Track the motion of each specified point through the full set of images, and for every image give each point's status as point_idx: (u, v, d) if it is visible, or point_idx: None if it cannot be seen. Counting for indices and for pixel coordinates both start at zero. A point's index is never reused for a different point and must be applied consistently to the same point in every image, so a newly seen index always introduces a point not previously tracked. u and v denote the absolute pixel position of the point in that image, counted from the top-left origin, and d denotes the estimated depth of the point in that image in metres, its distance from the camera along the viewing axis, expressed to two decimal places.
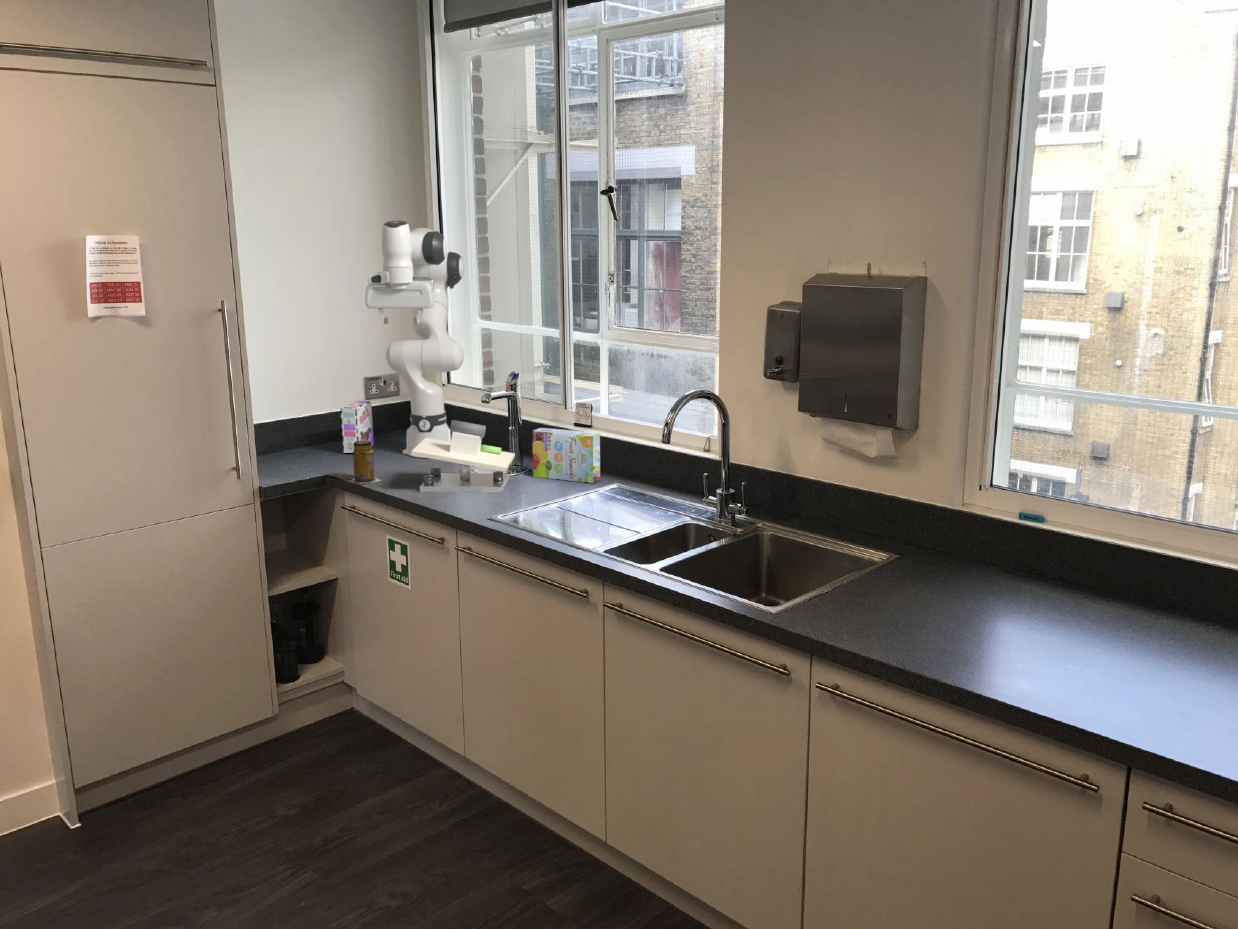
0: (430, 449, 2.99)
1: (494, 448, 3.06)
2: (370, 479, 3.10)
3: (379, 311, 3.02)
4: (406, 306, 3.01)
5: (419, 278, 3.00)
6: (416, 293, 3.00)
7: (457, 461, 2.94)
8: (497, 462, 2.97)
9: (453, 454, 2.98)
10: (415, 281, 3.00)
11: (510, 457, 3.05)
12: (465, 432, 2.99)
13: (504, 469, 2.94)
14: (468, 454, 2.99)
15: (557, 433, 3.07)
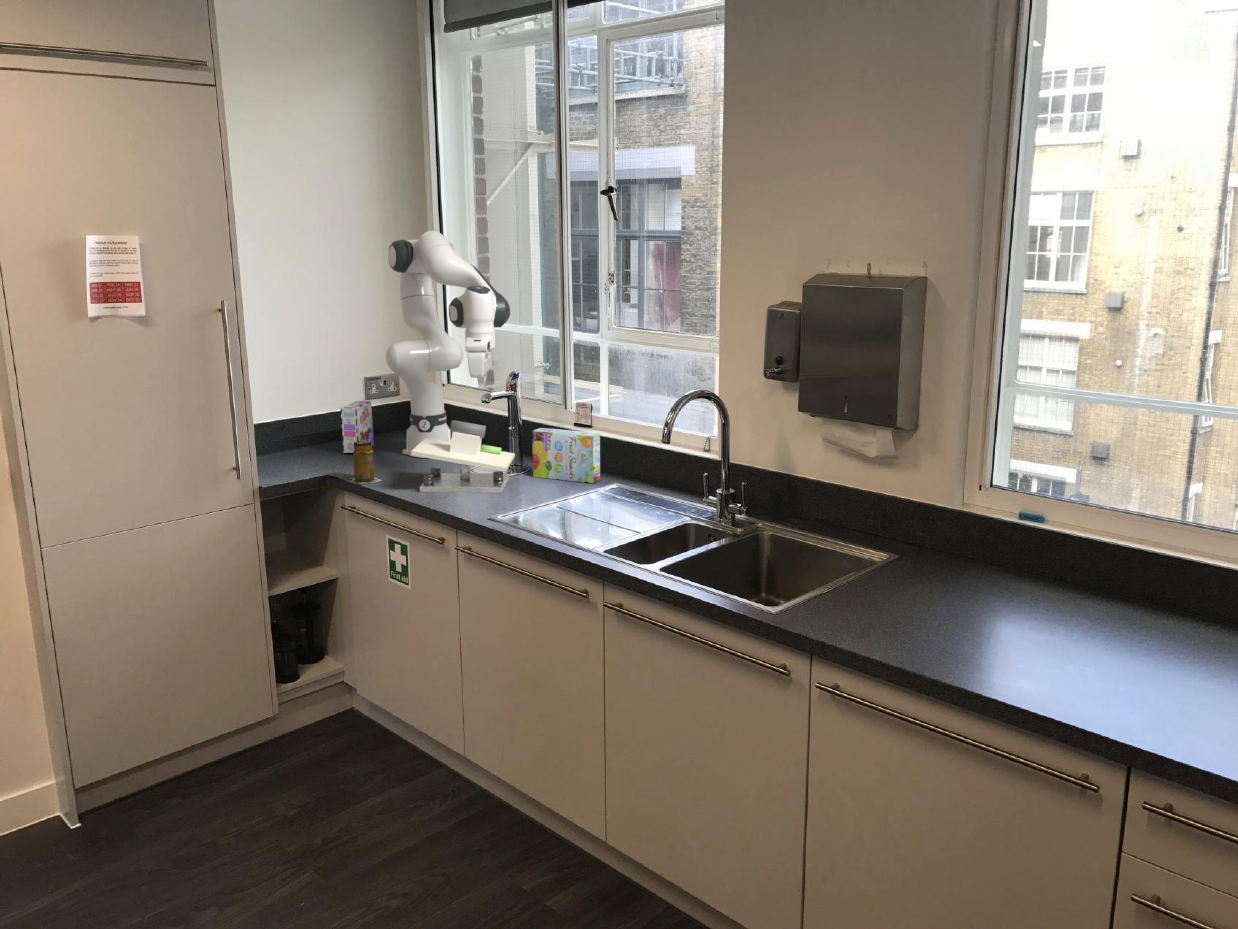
0: (430, 449, 2.99)
1: (494, 448, 3.06)
2: (370, 479, 3.10)
3: (484, 377, 2.99)
4: (488, 369, 3.03)
5: None
6: (489, 355, 3.05)
7: (457, 461, 2.94)
8: (497, 462, 2.97)
9: (453, 454, 2.98)
10: None
11: (510, 457, 3.05)
12: (465, 432, 2.99)
13: (504, 469, 2.94)
14: (468, 454, 2.99)
15: (557, 433, 3.07)
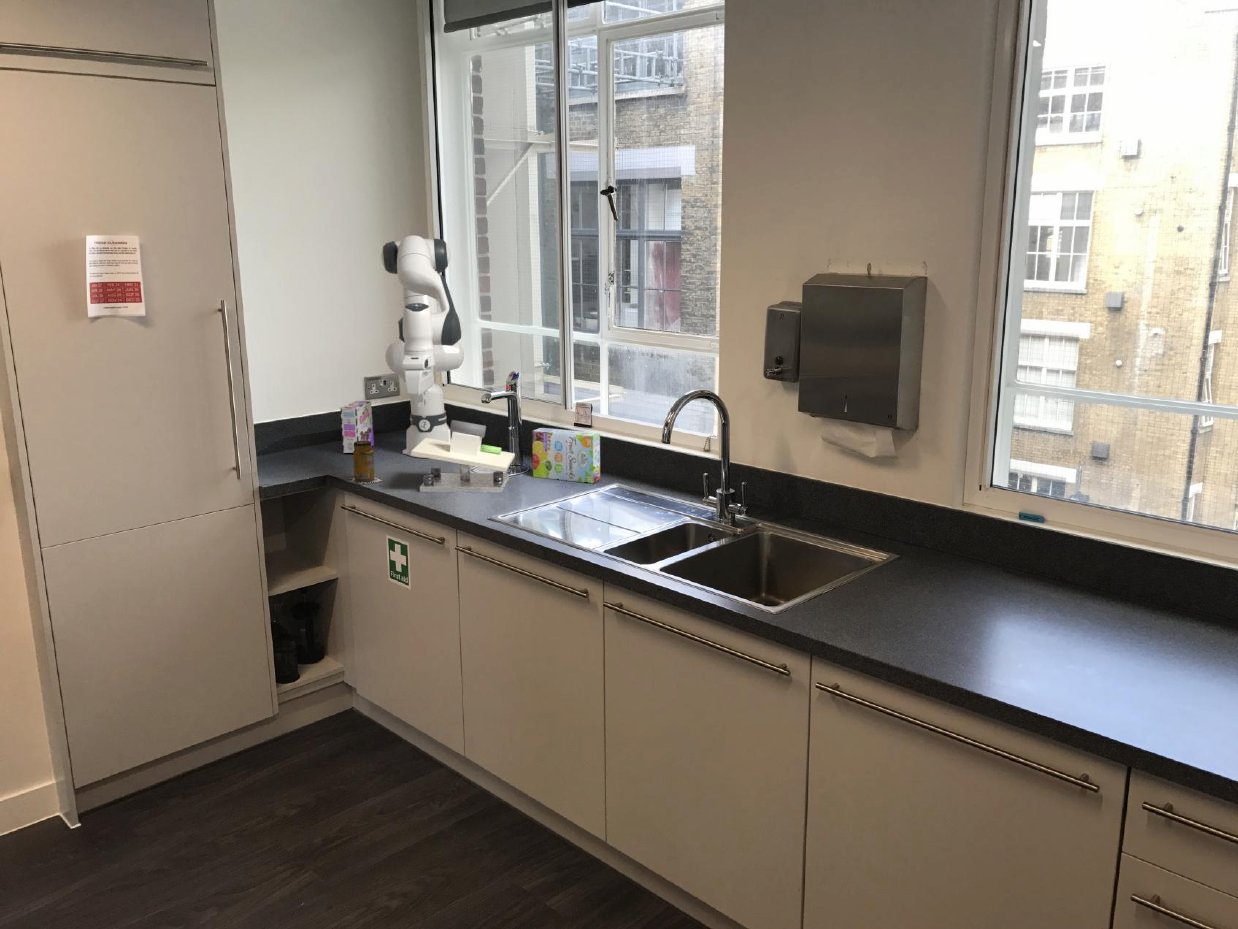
0: (430, 449, 2.99)
1: (494, 448, 3.06)
2: (370, 479, 3.10)
3: (423, 395, 2.96)
4: (428, 387, 3.00)
5: None
6: (429, 373, 3.02)
7: (457, 461, 2.94)
8: (497, 462, 2.97)
9: (453, 454, 2.98)
10: None
11: (510, 457, 3.05)
12: (465, 432, 2.99)
13: (504, 469, 2.94)
14: (468, 454, 2.99)
15: (557, 433, 3.07)
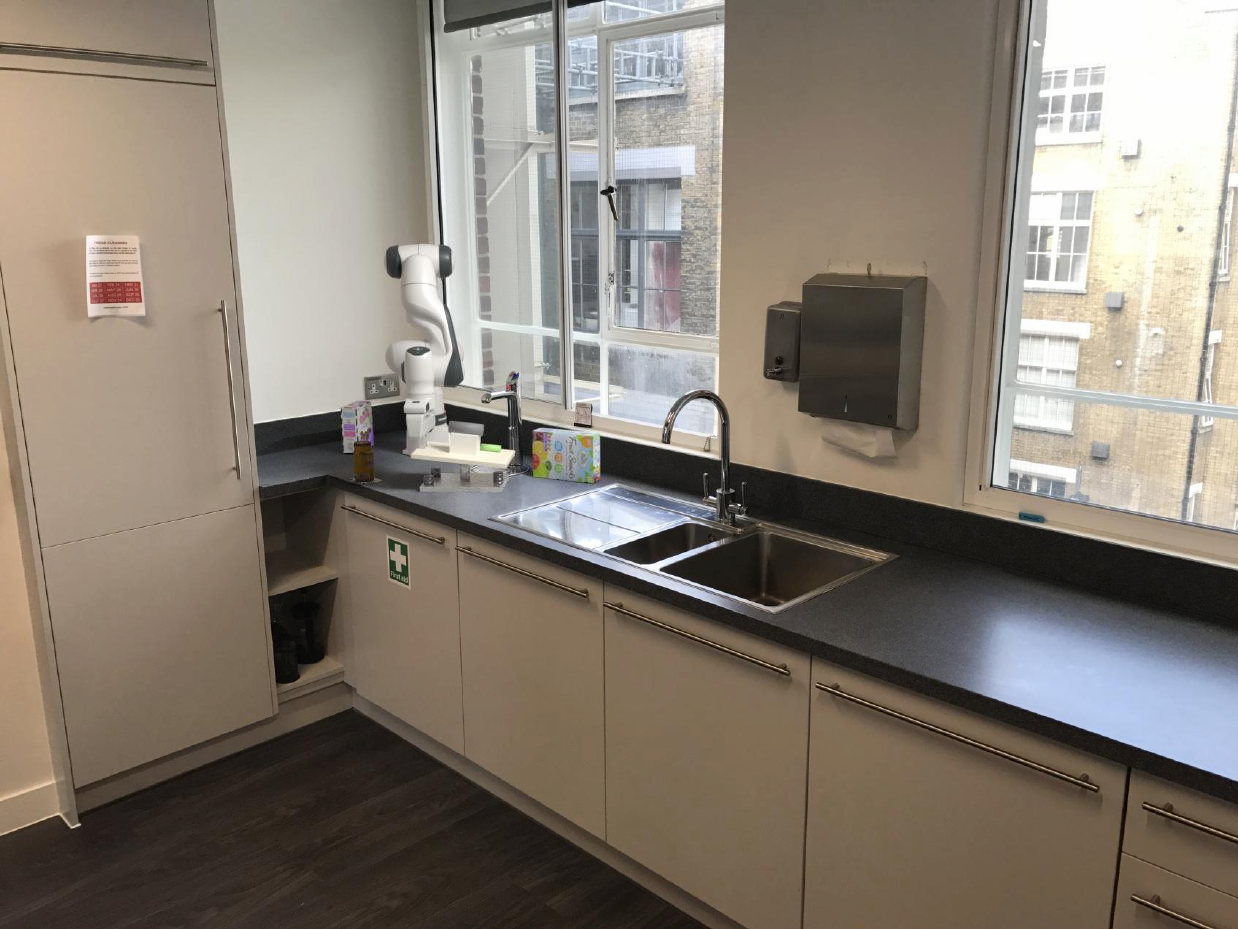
0: (430, 451, 2.99)
1: (494, 446, 3.06)
2: (370, 479, 3.10)
3: (424, 437, 2.99)
4: (430, 429, 3.03)
5: None
6: (430, 415, 3.05)
7: (457, 461, 2.94)
8: (497, 460, 2.97)
9: (453, 455, 2.98)
10: None
11: (510, 454, 3.05)
12: (463, 432, 2.99)
13: (504, 466, 2.93)
14: (468, 454, 2.99)
15: (557, 433, 3.07)
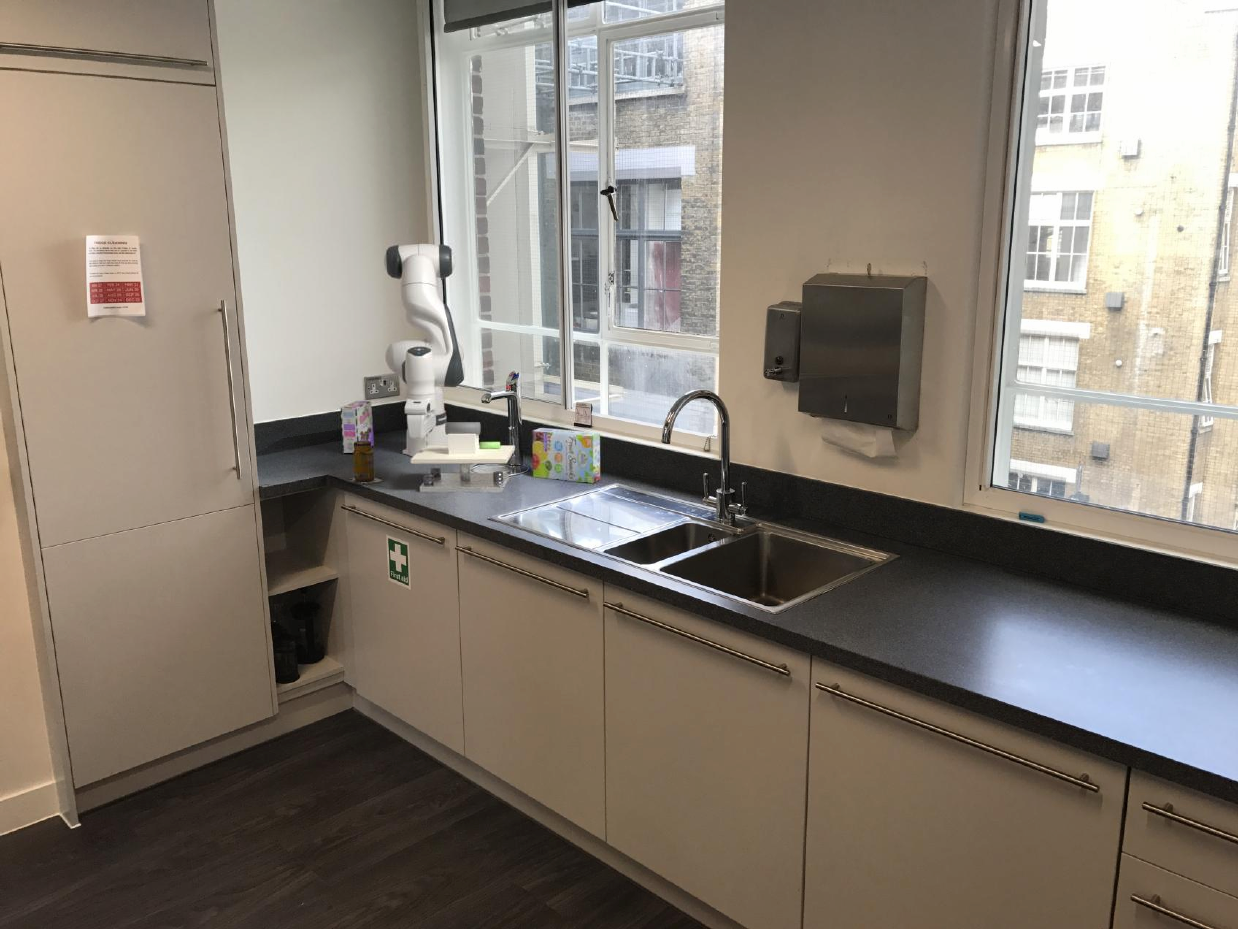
0: (429, 455, 2.99)
1: (493, 443, 3.06)
2: (370, 479, 3.10)
3: (425, 437, 3.00)
4: (430, 429, 3.03)
5: None
6: (431, 414, 3.05)
7: (457, 461, 2.94)
8: (497, 456, 2.97)
9: (452, 455, 2.98)
10: None
11: (510, 449, 3.05)
12: (460, 432, 2.99)
13: (504, 461, 2.93)
14: (467, 453, 2.99)
15: (557, 433, 3.07)
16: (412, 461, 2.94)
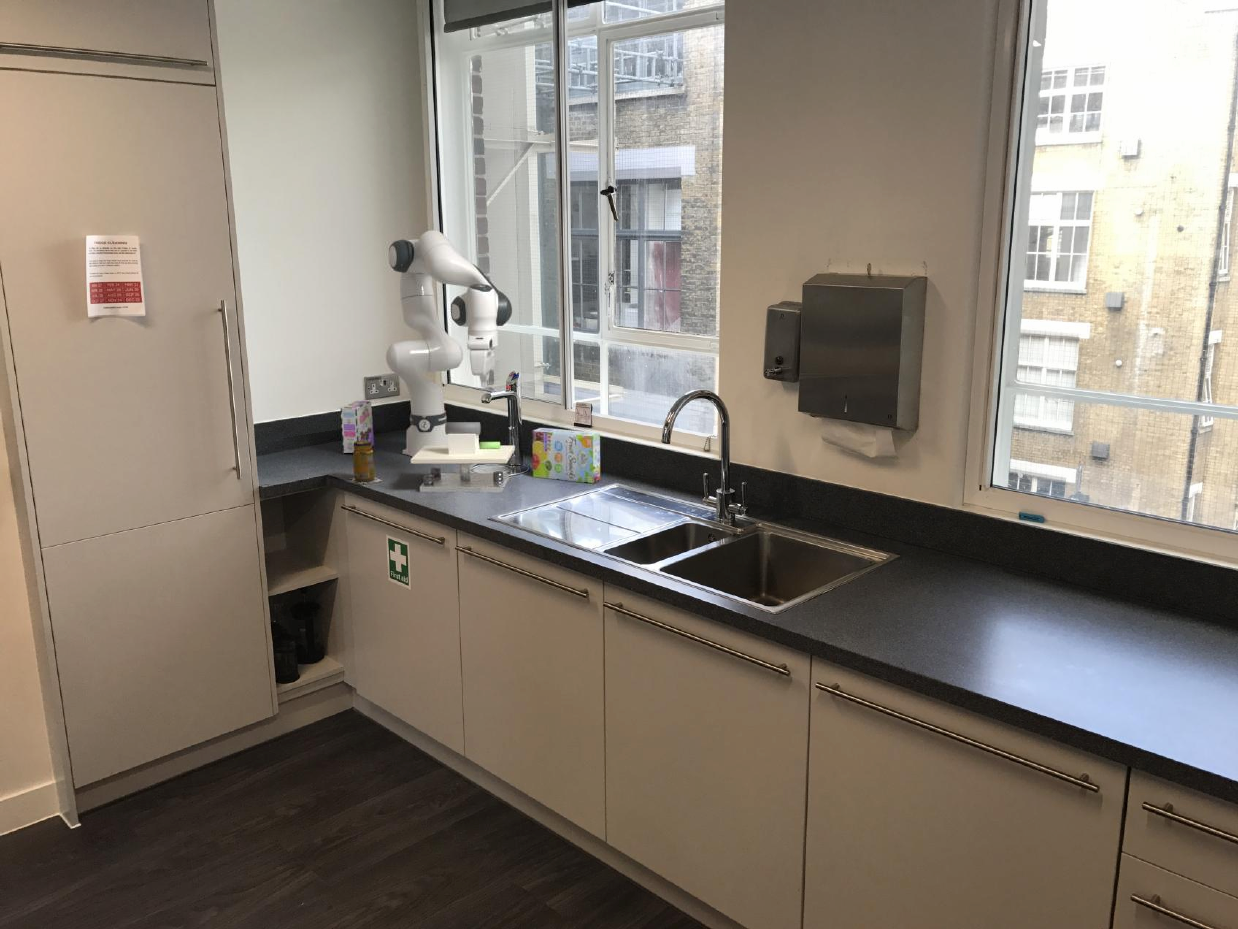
0: (429, 455, 2.99)
1: (493, 443, 3.06)
2: (370, 479, 3.10)
3: (486, 375, 2.99)
4: (491, 367, 3.03)
5: None
6: (491, 354, 3.05)
7: (457, 461, 2.94)
8: (497, 456, 2.97)
9: (452, 455, 2.98)
10: None
11: (510, 449, 3.05)
12: (460, 432, 2.99)
13: (504, 461, 2.93)
14: (467, 453, 2.99)
15: (557, 433, 3.07)
16: (412, 461, 2.94)
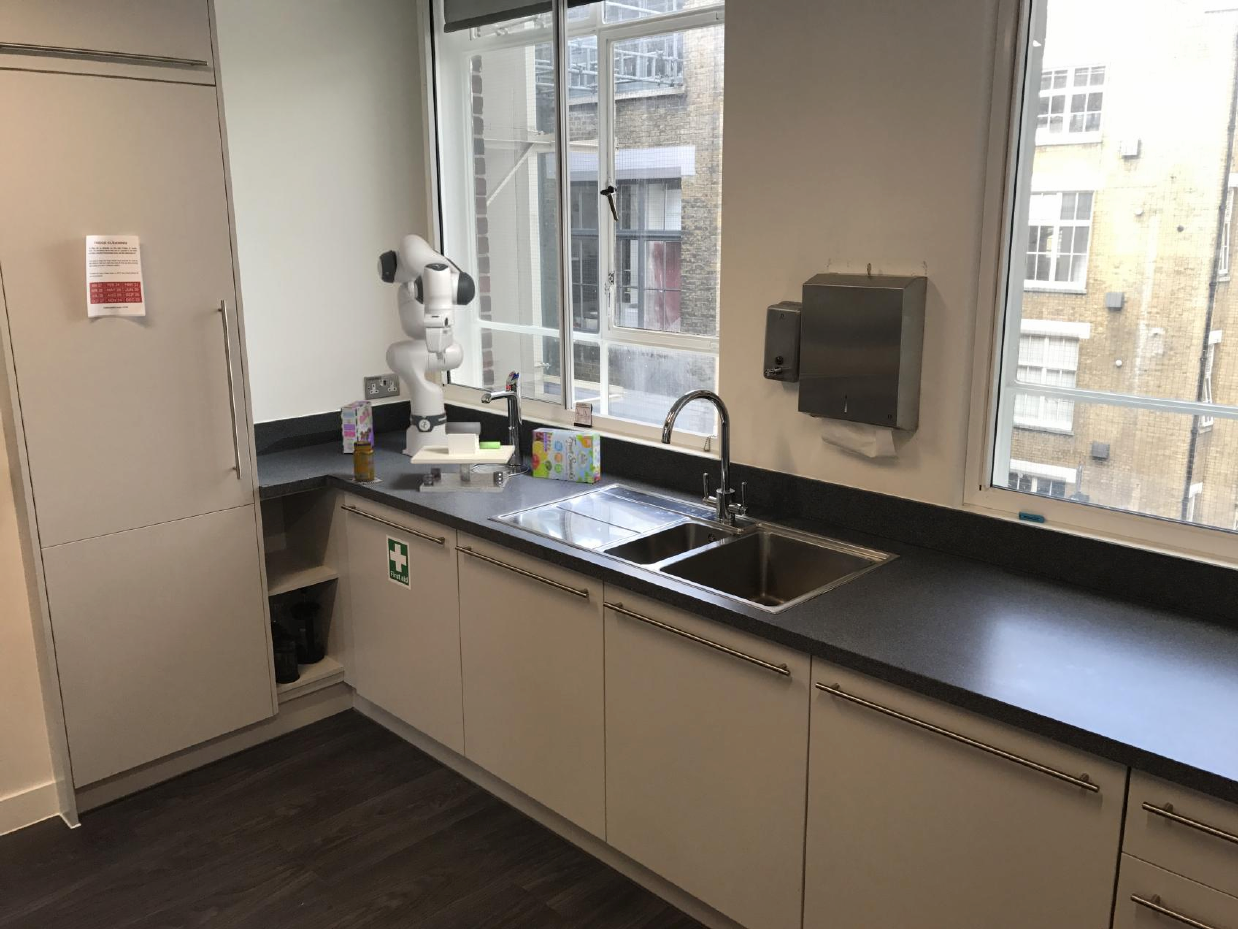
0: (429, 455, 2.99)
1: (493, 443, 3.06)
2: (370, 479, 3.10)
3: (443, 353, 3.04)
4: (448, 346, 3.08)
5: None
6: (448, 332, 3.10)
7: (457, 461, 2.94)
8: (497, 456, 2.97)
9: (452, 455, 2.98)
10: None
11: (510, 449, 3.05)
12: (460, 432, 2.99)
13: (504, 461, 2.93)
14: (467, 453, 2.99)
15: (557, 433, 3.07)
16: (412, 461, 2.94)
